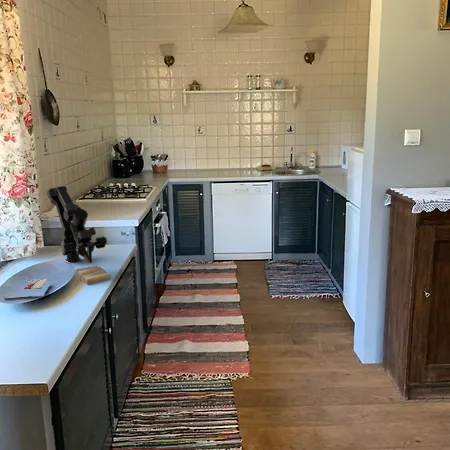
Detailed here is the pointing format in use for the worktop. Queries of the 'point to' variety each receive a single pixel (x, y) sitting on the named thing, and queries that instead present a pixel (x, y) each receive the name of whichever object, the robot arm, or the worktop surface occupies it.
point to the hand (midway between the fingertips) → (90, 262)
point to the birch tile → (93, 275)
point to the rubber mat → (82, 269)
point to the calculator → (37, 285)
